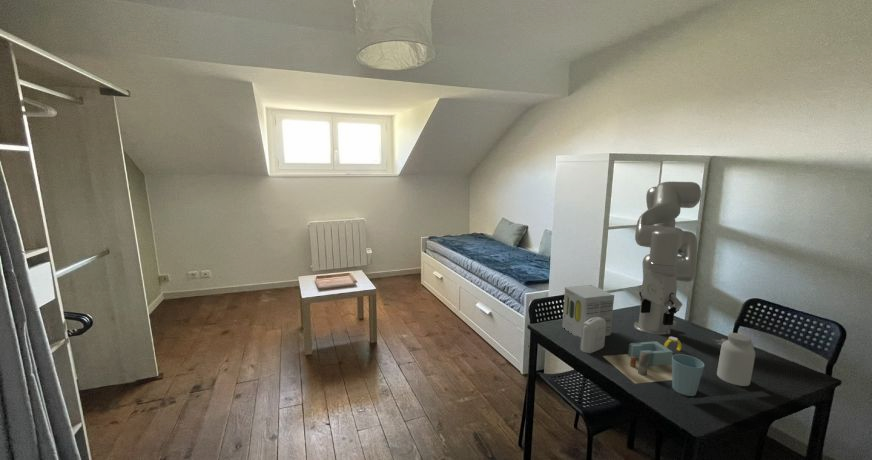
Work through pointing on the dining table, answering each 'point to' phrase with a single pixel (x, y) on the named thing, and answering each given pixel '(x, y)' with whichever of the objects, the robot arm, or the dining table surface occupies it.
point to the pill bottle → (736, 360)
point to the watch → (673, 339)
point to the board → (633, 371)
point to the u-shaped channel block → (651, 352)
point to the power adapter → (726, 340)
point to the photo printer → (593, 335)
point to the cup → (686, 374)
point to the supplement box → (586, 307)
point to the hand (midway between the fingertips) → (656, 318)
